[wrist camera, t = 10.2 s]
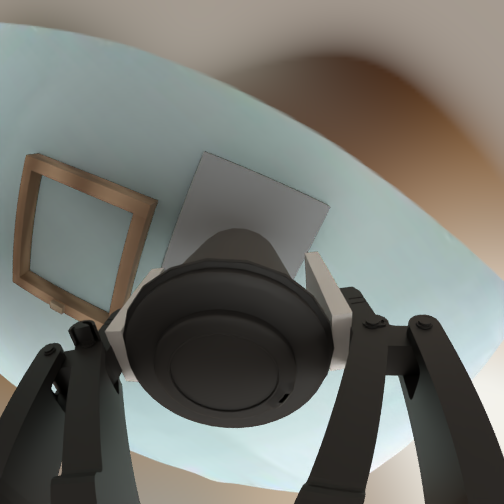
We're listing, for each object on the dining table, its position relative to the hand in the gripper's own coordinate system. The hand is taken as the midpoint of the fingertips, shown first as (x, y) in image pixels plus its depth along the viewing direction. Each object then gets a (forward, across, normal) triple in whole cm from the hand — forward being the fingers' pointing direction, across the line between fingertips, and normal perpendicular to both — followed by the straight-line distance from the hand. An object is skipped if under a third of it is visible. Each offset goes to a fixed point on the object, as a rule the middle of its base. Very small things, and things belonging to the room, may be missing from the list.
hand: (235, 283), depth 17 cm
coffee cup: (+2, 0, 0) cm, 2 cm away
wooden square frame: (+9, -16, +1) cm, 19 cm away
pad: (+9, 0, 0) cm, 9 cm away
